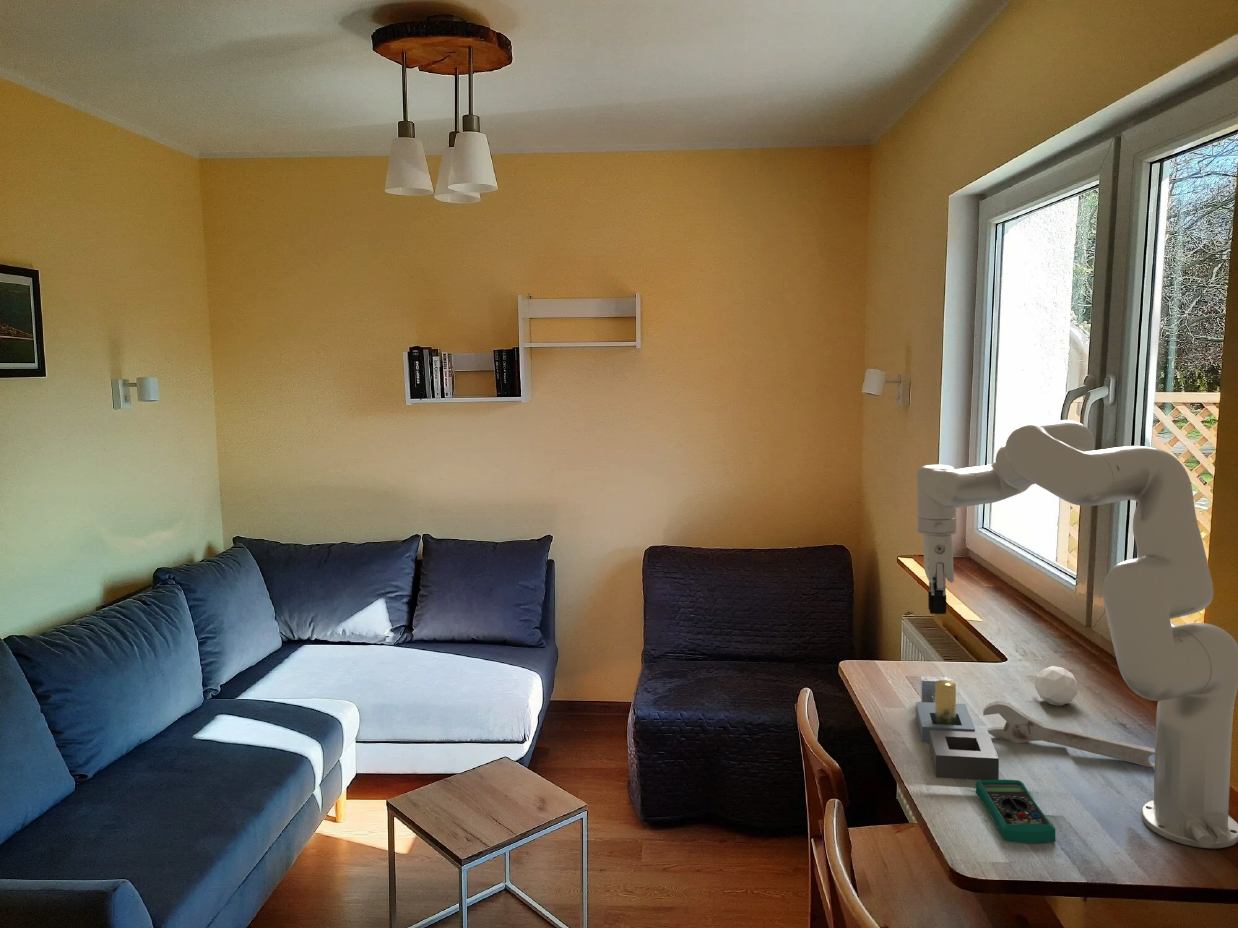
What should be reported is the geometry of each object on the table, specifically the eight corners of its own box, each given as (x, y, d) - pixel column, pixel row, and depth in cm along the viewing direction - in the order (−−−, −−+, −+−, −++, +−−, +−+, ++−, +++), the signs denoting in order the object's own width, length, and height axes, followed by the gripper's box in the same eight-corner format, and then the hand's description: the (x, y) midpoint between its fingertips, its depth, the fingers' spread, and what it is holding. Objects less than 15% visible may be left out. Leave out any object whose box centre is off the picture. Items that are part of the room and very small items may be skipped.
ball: (1045, 716, 179) (1020, 684, 181) (1064, 693, 184) (1038, 662, 185) (1074, 710, 173) (1047, 677, 174) (1093, 686, 177) (1066, 654, 178)
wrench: (1162, 784, 151) (979, 740, 164) (1161, 780, 153) (980, 736, 165) (1170, 742, 150) (984, 700, 162) (1169, 738, 151) (985, 697, 164)
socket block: (974, 749, 161) (974, 729, 161) (922, 747, 163) (922, 726, 163) (965, 723, 172) (965, 703, 172) (916, 720, 174) (916, 701, 174)
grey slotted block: (998, 786, 148) (998, 758, 147) (936, 782, 150) (935, 754, 149) (988, 758, 157) (988, 732, 157) (929, 755, 160) (929, 729, 159)
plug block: (957, 723, 171) (957, 693, 170) (925, 721, 173) (925, 692, 172) (951, 704, 180) (951, 677, 179) (920, 703, 181) (920, 675, 180)
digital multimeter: (1004, 846, 131) (1004, 826, 131) (974, 793, 147) (974, 776, 146) (1057, 846, 131) (1058, 827, 130) (1021, 794, 146) (1022, 777, 145)
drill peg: (957, 738, 164) (956, 687, 162) (936, 737, 165) (936, 686, 163) (954, 730, 167) (954, 680, 166) (934, 729, 168) (934, 679, 167)
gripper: (961, 533, 171) (962, 624, 173) (950, 517, 186) (951, 601, 188) (921, 533, 173) (922, 623, 175) (913, 517, 188) (914, 600, 190)
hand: (937, 611), depth 182 cm, fingers closed
